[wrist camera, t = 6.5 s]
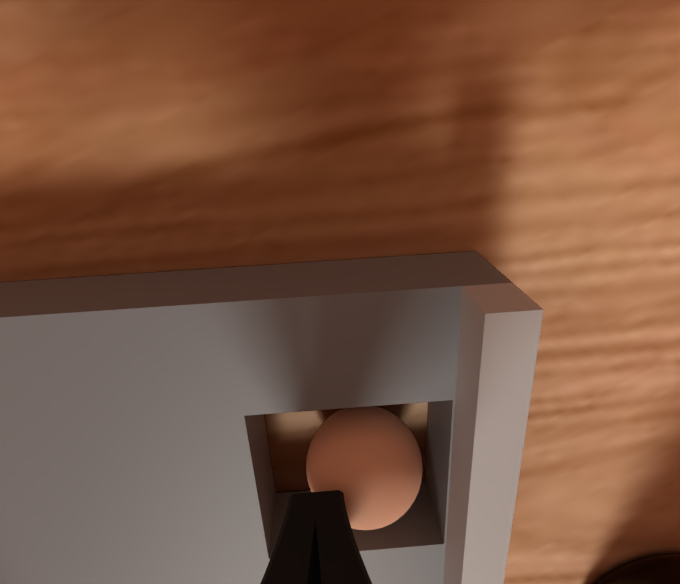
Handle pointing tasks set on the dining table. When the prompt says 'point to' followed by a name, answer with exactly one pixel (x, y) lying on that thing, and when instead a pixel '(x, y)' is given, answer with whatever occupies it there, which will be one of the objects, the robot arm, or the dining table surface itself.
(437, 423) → the hole deck
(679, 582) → the supplement bottle
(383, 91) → the dining table surface
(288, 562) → the robot arm
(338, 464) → the ball
